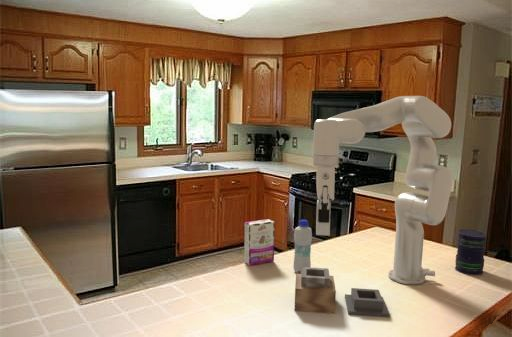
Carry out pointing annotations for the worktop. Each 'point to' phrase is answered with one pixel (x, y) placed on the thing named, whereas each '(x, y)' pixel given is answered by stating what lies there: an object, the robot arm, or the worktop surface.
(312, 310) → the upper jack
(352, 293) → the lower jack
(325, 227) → the plug
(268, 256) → the candy bar box
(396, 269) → the robot arm
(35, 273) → the worktop surface
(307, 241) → the bottle
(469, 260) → the storage jar
